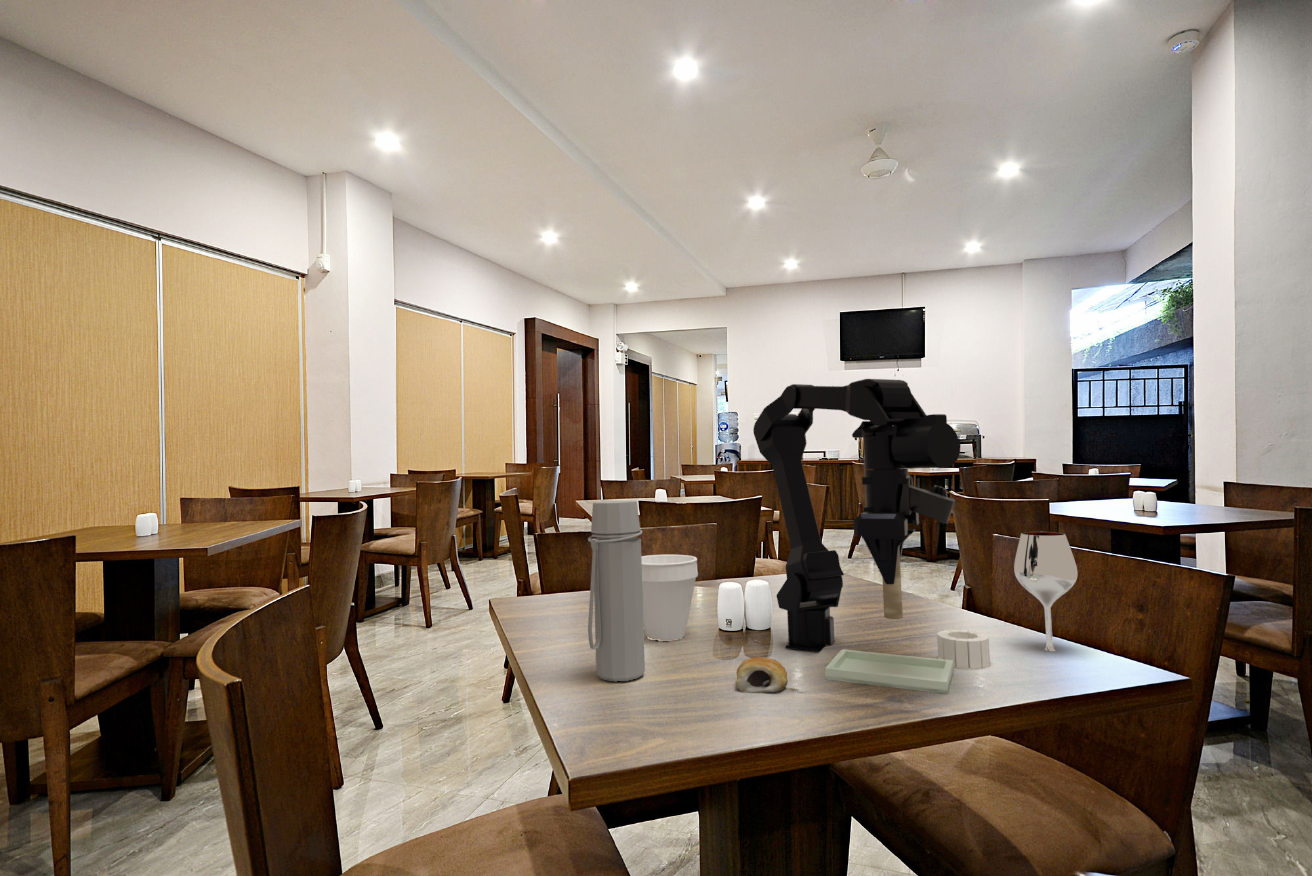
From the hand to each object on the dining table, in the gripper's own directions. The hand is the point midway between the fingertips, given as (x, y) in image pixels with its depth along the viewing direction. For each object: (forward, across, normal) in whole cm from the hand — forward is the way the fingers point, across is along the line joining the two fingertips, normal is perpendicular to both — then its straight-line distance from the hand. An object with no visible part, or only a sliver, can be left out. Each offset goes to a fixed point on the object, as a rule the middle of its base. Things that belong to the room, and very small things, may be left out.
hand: (891, 582), depth 91 cm
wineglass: (+13, +19, -20) cm, 30 cm away
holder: (+13, +8, -8) cm, 17 cm away
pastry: (+13, -9, +16) cm, 23 cm away
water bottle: (+13, -14, +36) cm, 41 cm away
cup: (+13, +9, +40) cm, 43 cm away
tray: (+13, -2, 0) cm, 13 cm away
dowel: (+5, 0, 0) cm, 5 cm away
